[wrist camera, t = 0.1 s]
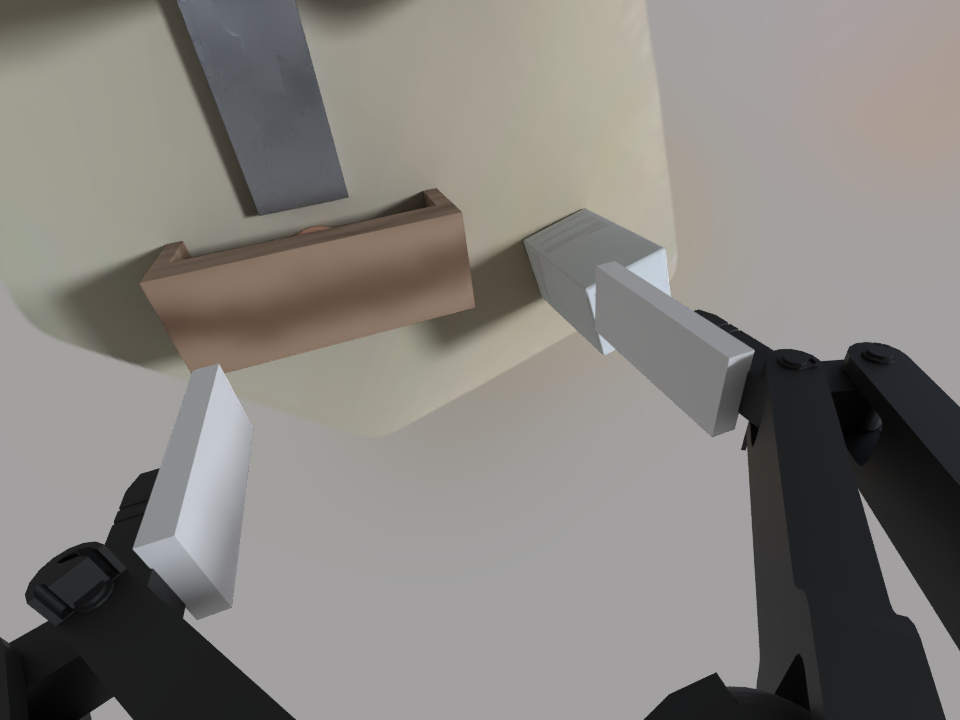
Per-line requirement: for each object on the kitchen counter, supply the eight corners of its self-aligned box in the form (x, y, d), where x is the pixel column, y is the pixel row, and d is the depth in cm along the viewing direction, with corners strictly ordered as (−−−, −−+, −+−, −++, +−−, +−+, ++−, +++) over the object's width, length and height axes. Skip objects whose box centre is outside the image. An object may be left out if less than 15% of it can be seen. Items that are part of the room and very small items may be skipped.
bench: (166, 244, 37) (138, 283, 31) (436, 188, 41) (461, 212, 35) (211, 331, 42) (195, 380, 35) (450, 272, 46) (475, 307, 39)
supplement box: (540, 299, 51) (601, 359, 41) (521, 238, 46) (583, 288, 36) (601, 268, 51) (676, 320, 41) (587, 205, 47) (667, 246, 36)
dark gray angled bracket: (139, -106, 27) (29, -219, 16) (263, -115, 29) (241, -226, 18) (260, 211, 38) (244, 275, 27) (347, 194, 39) (367, 248, 28)
